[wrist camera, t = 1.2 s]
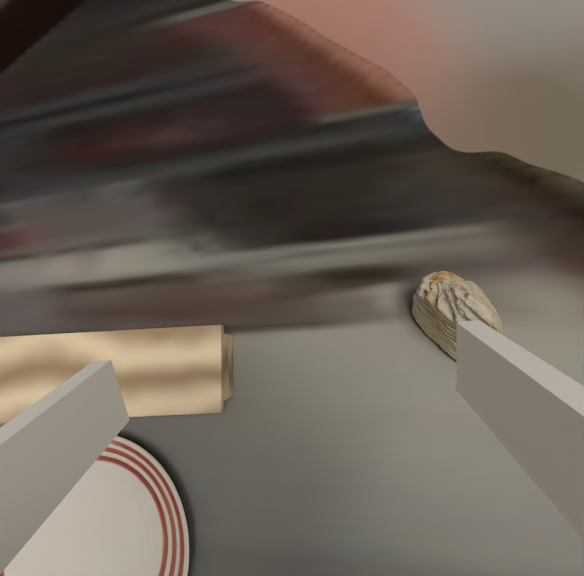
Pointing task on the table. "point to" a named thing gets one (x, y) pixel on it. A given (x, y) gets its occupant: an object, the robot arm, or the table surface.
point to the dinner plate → (112, 523)
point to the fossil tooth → (450, 308)
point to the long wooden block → (124, 368)
